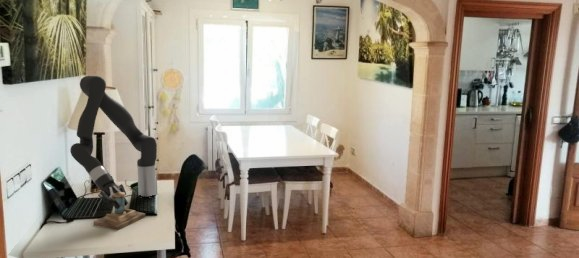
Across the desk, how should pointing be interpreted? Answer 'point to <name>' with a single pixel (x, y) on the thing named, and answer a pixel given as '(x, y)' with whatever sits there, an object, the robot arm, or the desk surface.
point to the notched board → (119, 219)
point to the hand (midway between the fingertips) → (122, 206)
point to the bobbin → (120, 203)
